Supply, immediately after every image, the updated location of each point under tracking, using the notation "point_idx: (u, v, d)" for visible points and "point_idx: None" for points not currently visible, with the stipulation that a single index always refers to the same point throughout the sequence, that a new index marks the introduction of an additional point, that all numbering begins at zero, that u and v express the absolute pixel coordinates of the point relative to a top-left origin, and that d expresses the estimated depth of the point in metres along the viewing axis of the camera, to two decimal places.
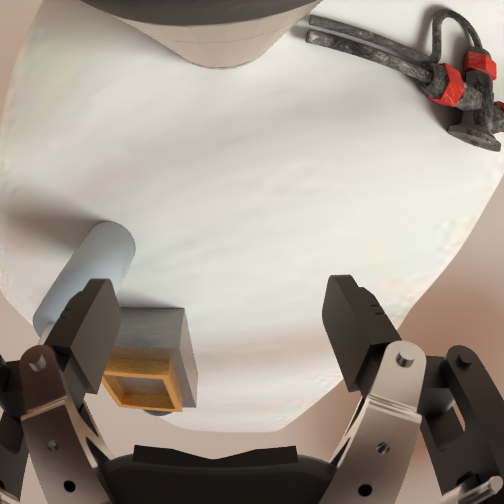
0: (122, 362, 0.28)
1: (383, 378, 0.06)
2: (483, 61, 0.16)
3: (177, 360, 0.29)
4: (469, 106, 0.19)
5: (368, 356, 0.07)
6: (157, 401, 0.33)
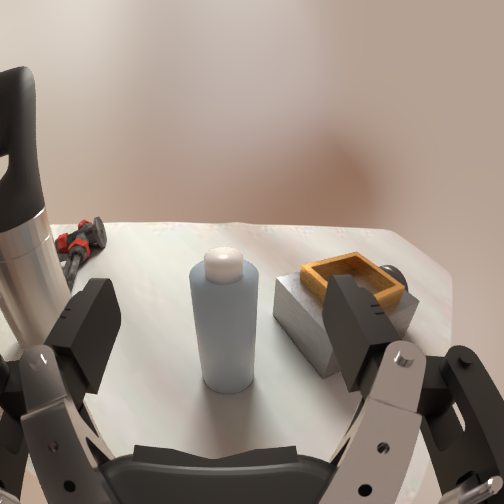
0: None
1: (383, 378, 0.06)
2: (60, 239, 0.49)
3: (295, 275, 0.36)
4: (85, 237, 0.50)
5: (368, 356, 0.07)
6: (367, 271, 0.35)
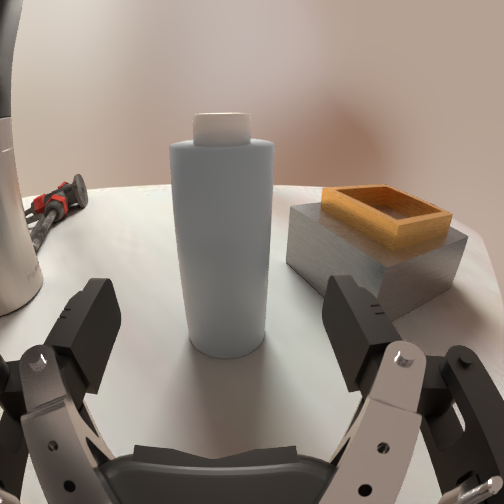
0: (363, 225, 0.22)
1: (383, 378, 0.06)
2: (37, 199, 0.41)
3: (314, 205, 0.27)
4: (63, 195, 0.42)
5: (368, 356, 0.07)
6: (402, 203, 0.26)
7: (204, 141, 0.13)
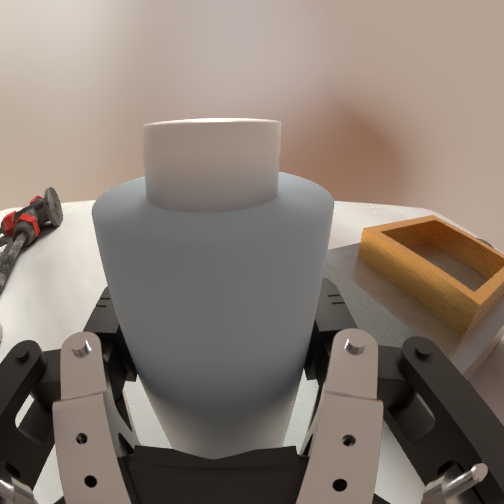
0: (423, 293, 0.14)
1: (327, 363, 0.06)
2: (7, 218, 0.33)
3: (348, 250, 0.19)
4: (34, 213, 0.34)
5: (320, 343, 0.08)
6: (455, 244, 0.18)
7: (165, 196, 0.05)
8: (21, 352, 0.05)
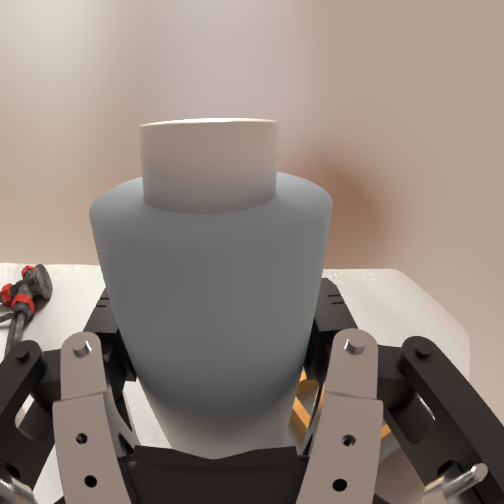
0: None
1: (327, 363, 0.06)
2: (4, 292, 0.37)
3: None
4: (28, 290, 0.38)
5: (320, 343, 0.08)
6: None
7: (162, 197, 0.05)
8: (21, 352, 0.05)
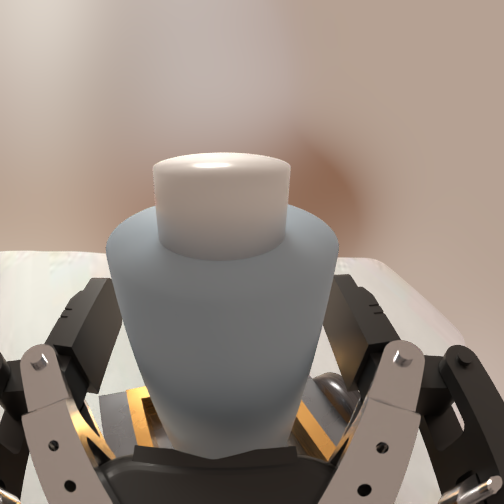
0: None
1: (381, 378, 0.06)
2: None
3: None
4: None
5: (367, 356, 0.07)
6: None
7: (179, 243, 0.06)
8: None
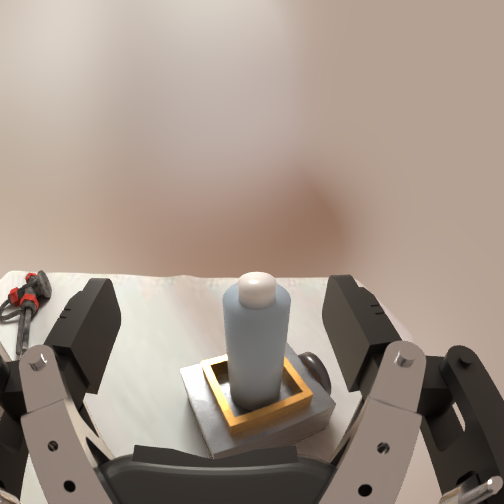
0: (218, 406, 0.27)
1: (383, 378, 0.06)
2: (12, 294, 0.46)
3: (199, 367, 0.32)
4: (32, 291, 0.48)
5: (368, 356, 0.07)
6: None
7: (247, 305, 0.22)
8: None
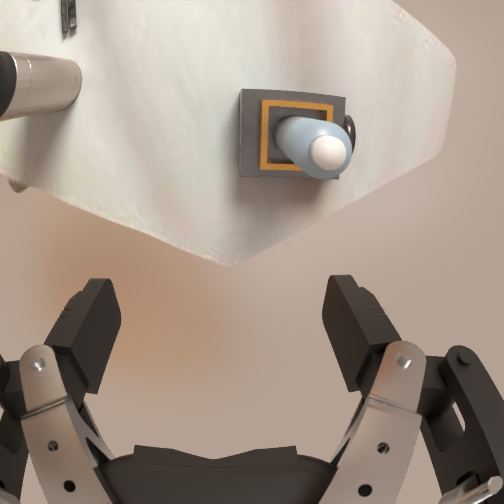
0: (259, 141, 0.35)
1: (383, 378, 0.06)
2: None
3: (259, 93, 0.33)
4: None
5: (368, 356, 0.07)
6: None
7: (312, 159, 0.25)
8: None
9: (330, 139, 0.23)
